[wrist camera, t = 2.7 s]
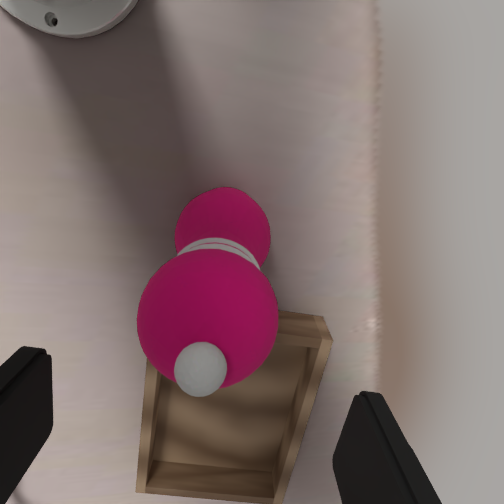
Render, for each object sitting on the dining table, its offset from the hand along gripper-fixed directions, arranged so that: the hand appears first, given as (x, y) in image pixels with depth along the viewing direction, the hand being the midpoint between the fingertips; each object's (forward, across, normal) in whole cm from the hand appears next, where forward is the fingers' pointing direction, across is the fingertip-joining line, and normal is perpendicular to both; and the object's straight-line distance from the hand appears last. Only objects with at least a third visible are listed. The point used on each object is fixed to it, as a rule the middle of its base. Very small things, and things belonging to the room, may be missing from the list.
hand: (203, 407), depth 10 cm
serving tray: (+21, -2, +18) cm, 28 cm away
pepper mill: (+21, 0, -1) cm, 21 cm away
